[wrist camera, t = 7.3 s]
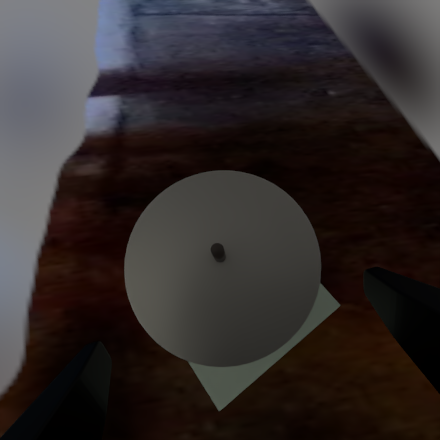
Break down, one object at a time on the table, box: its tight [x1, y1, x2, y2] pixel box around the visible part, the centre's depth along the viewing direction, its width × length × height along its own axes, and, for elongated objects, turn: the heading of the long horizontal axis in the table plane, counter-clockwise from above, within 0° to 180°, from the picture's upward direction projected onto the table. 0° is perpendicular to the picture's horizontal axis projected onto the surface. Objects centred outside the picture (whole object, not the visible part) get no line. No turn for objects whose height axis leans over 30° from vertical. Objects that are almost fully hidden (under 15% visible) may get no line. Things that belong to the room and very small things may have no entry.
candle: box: [124, 170, 321, 367], centre depth 12 cm, size 5×5×13 cm
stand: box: [188, 283, 340, 411], centre depth 19 cm, size 10×10×2 cm
